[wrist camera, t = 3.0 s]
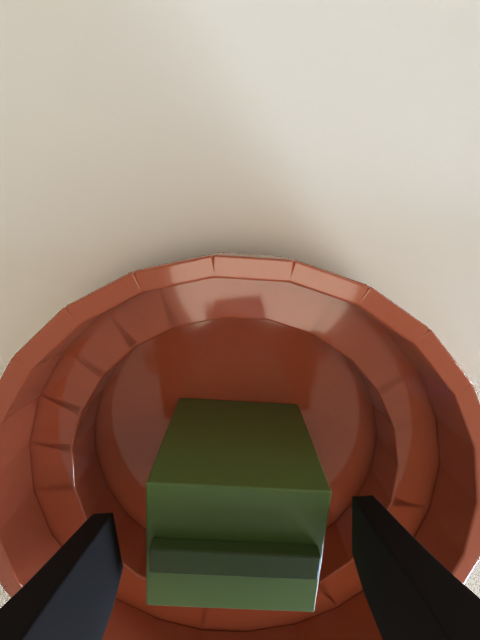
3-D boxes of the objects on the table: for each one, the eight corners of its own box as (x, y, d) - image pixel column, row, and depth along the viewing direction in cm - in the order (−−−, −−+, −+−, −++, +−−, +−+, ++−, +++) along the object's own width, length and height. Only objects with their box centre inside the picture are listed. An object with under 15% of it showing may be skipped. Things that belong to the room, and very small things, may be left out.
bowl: (385, 587, 16) (438, 710, 12) (64, 573, 16) (-1, 695, 12) (450, 266, 13) (559, 276, 8) (40, 240, 13) (-65, 236, 8)
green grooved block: (288, 489, 14) (317, 628, 9) (177, 484, 14) (141, 621, 9) (298, 403, 14) (336, 503, 8) (178, 397, 13) (140, 494, 8)
